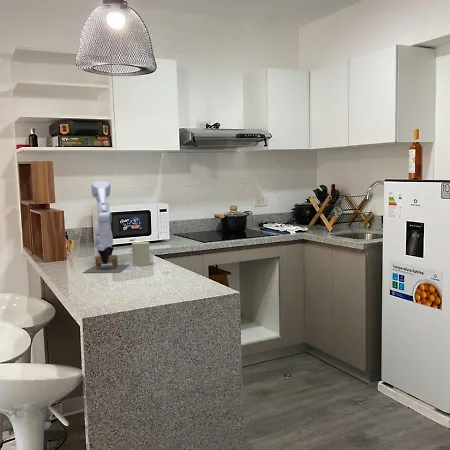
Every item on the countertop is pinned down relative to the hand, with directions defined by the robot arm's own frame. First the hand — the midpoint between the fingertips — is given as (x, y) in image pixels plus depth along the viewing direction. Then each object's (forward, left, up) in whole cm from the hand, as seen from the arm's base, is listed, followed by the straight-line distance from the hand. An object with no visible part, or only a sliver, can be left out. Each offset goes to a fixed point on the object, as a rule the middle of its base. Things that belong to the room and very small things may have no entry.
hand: (106, 262), depth 257 cm
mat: (0, 0, -3) cm, 3 cm away
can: (-12, +15, -3) cm, 20 cm away
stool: (0, 0, -2) cm, 2 cm away
